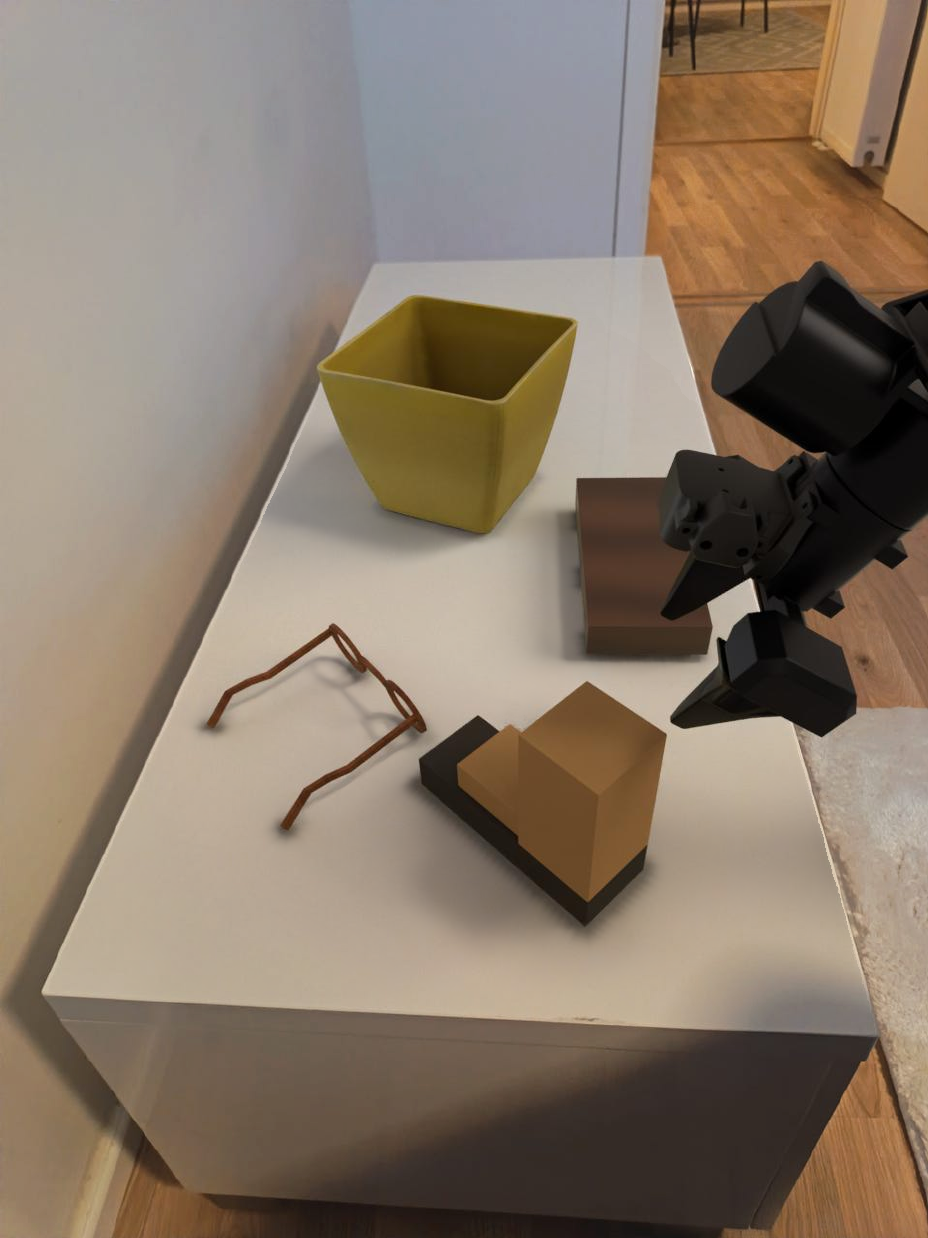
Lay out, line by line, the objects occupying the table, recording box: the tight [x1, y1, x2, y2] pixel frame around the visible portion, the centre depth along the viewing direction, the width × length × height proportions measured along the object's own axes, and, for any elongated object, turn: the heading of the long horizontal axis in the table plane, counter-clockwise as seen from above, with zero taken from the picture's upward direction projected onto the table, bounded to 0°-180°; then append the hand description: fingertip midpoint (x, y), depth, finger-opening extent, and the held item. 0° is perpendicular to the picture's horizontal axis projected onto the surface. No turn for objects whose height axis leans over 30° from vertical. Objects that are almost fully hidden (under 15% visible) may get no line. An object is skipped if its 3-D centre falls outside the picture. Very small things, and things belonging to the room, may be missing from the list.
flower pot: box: [316, 294, 579, 534], centre depth 88 cm, size 19×19×17 cm
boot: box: [418, 680, 668, 927], centre depth 57 cm, size 16×6×14 cm, turn 43°
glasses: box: [206, 622, 428, 831], centre depth 67 cm, size 13×13×5 cm
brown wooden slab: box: [574, 476, 714, 656], centre depth 80 cm, size 22×10×4 cm, turn 177°
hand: (670, 666), depth 53 cm, fingers open, 9 cm apart
